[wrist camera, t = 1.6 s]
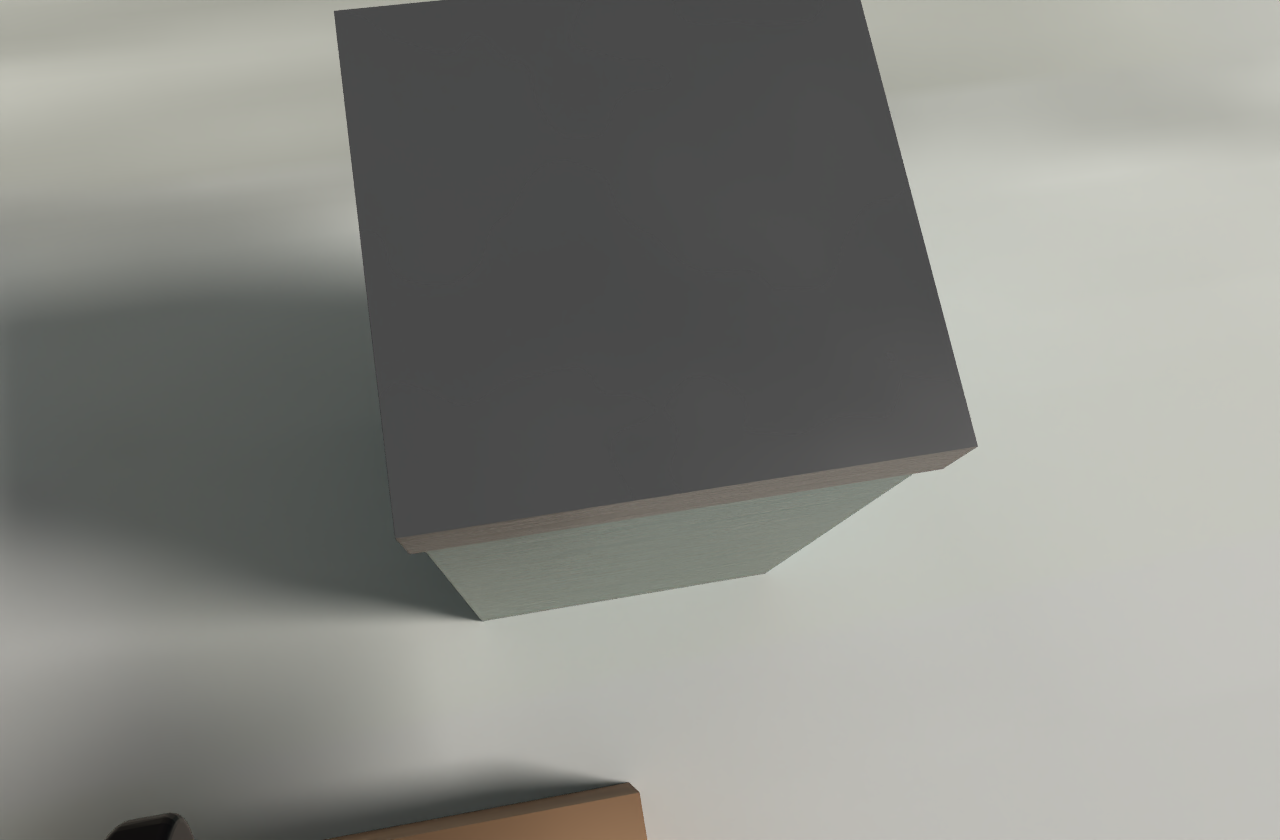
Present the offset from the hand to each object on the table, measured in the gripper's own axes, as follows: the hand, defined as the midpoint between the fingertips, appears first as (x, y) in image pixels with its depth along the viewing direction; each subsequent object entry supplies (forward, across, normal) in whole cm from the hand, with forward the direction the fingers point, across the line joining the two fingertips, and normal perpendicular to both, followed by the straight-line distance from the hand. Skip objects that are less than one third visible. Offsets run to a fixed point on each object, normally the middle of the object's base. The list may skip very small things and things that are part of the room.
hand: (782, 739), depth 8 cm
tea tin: (+12, 0, +5) cm, 13 cm away
